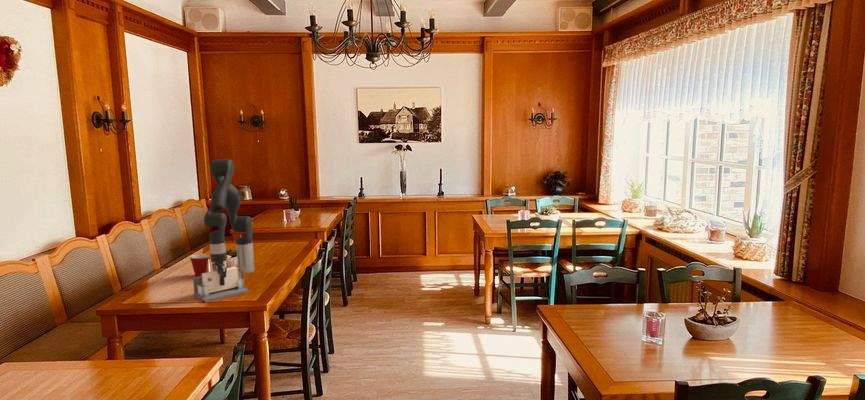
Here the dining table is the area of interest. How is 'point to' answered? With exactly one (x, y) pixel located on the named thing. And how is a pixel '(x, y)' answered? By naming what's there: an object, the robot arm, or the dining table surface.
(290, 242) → the dining table surface
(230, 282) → the door
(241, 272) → the tin
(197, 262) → the plastic cup
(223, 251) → the robot arm
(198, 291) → the hinge bracket
